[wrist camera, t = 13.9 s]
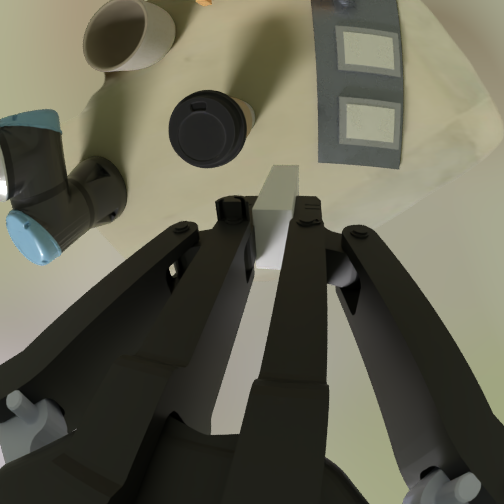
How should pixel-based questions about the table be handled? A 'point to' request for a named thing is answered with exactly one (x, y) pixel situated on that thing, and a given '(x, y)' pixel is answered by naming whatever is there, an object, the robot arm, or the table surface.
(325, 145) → the grey switch panel
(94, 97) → the table surface
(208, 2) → the swing arm
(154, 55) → the planter
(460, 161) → the table surface
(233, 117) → the coffee cup
